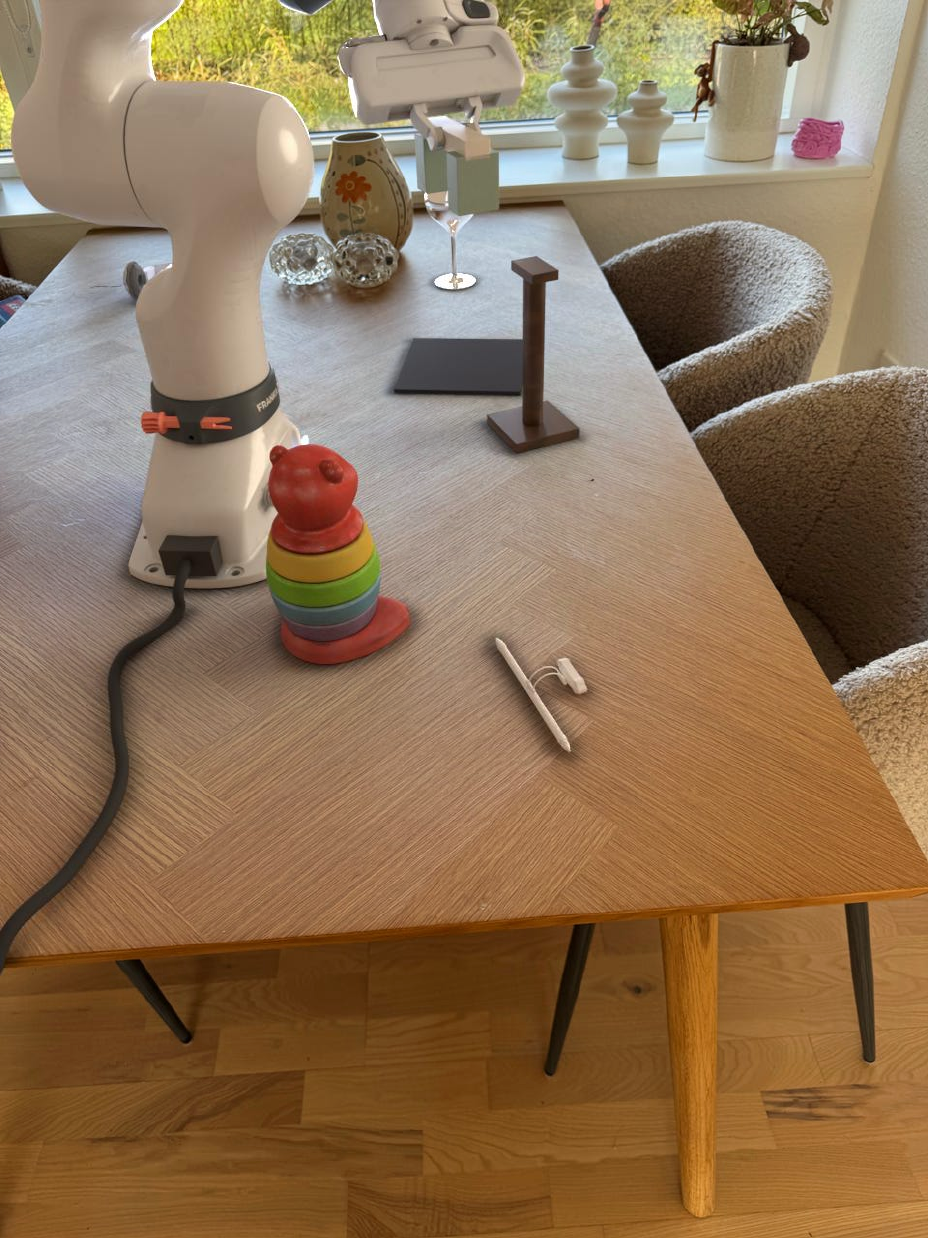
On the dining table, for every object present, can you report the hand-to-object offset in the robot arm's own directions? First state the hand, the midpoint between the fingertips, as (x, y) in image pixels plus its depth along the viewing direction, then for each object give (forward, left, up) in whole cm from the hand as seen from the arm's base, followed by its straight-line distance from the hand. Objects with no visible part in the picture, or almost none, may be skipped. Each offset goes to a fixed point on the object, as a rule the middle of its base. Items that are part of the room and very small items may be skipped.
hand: (457, 144), depth 104 cm
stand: (-16, -10, -27) cm, 33 cm away
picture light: (-59, -14, -27) cm, 67 cm away
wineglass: (+32, +5, -27) cm, 42 cm away
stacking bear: (-53, +5, -27) cm, 60 cm away
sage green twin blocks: (+1, 0, -6) cm, 6 cm away
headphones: (+27, +50, -27) cm, 63 cm away
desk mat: (+1, 0, -27) cm, 27 cm away
